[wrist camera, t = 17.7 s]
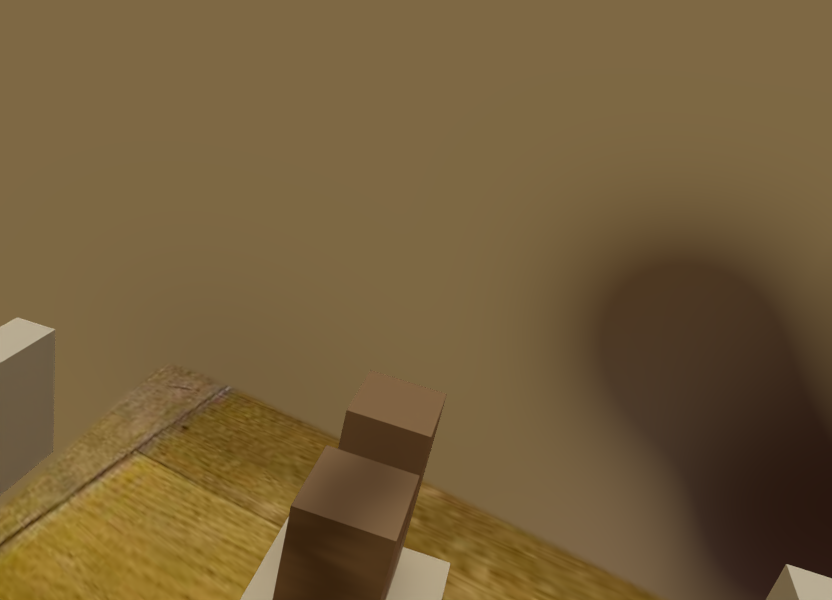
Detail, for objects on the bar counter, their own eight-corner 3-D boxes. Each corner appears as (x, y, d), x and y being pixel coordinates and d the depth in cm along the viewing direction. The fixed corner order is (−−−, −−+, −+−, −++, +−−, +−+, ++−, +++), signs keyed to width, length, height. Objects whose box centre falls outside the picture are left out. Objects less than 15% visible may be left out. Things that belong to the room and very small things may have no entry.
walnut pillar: (365, 665, 42) (419, 475, 37) (339, 743, 38) (396, 541, 32) (285, 636, 43) (326, 445, 37) (250, 710, 38) (291, 505, 33)
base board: (440, 593, 53) (503, 399, 46) (376, 854, 37) (459, 613, 30) (286, 540, 54) (325, 343, 47) (158, 769, 38) (189, 520, 31)
